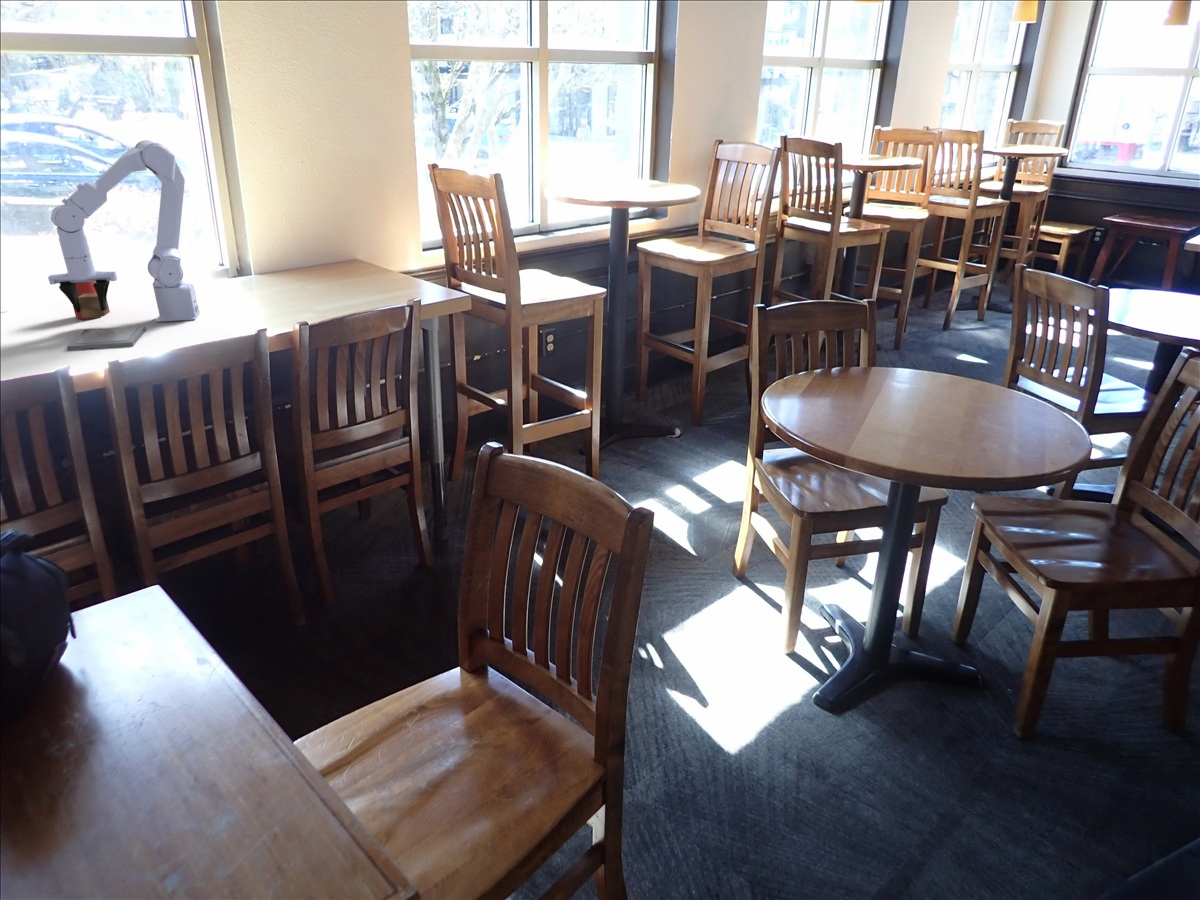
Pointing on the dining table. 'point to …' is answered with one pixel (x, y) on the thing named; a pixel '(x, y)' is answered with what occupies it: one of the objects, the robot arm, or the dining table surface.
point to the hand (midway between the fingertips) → (91, 310)
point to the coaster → (107, 337)
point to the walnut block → (91, 305)
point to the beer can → (84, 289)
